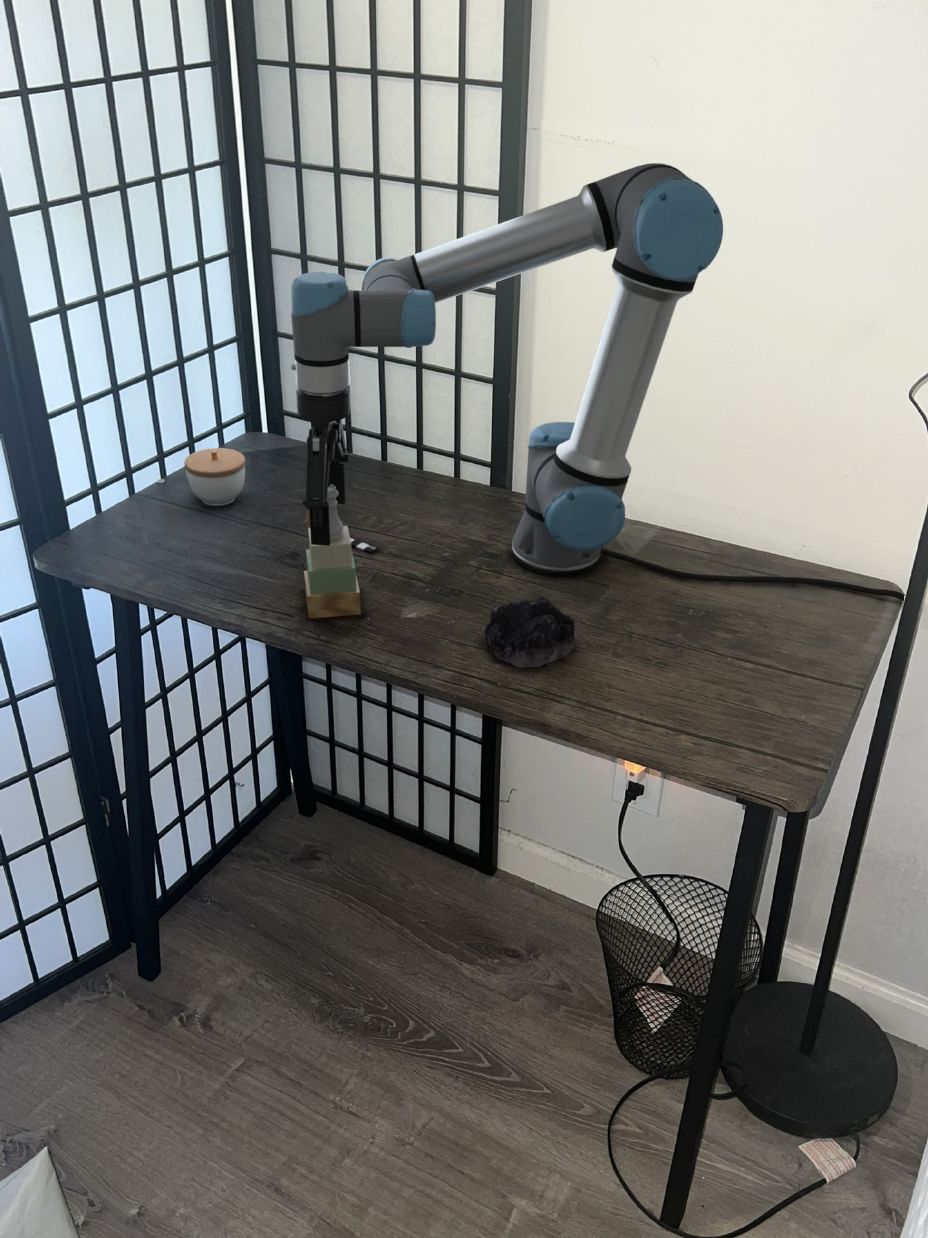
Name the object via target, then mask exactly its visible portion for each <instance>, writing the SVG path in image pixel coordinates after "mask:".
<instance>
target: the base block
mask: <svg viewBox="0 0 928 1238" xmlns="http://www.w3.org/2000/svg"><path fill="white" fill-rule="evenodd" d="M303 578H304V579H303V580H304V594H305V601H306V608H307V615H308V616H307V617H308V619H309V620H310V619H322V618H334V617H345V616H359V615H361V614H362V611H361V590H360V586H359V583H358V582H359V581H358V576H357V575H356V591H348V592H335V593H322V594H310V587H309V580H308V574H307V570H303Z"/></svg>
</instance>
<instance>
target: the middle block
mask: <svg viewBox="0 0 928 1238" xmlns="http://www.w3.org/2000/svg"><path fill="white" fill-rule="evenodd" d="M351 550H352V548H351ZM352 551H353V550H352ZM305 557H306V559H305V560H306V571H307V574H308V580H309V587H310V594H322V593H335V592H348V591H356V576H357V568H356V564H355V559H354V554H353V553H352V567H342V568H328V569H314V570H313V569H312V564H311V558H310V551H309V549H305Z"/></svg>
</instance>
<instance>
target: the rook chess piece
mask: <svg viewBox="0 0 928 1238" xmlns="http://www.w3.org/2000/svg"><path fill="white" fill-rule="evenodd" d="M338 494H339V493H338V491H337V490H336V486H334V485H332V484H331V485H330V487H328V493H327V503H329V520H330V542H331V541H336V540H339V539H340V538H341V537H342V536H343V534H344V531H343V528H344V527H343V526H344V525H343V522H342V521H341V519H340V518H339V514H338V508H337V505H338V504H337V503H338V502H337V501H336V497H337V496H338Z"/></svg>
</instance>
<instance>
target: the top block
mask: <svg viewBox="0 0 928 1238" xmlns="http://www.w3.org/2000/svg"><path fill="white" fill-rule="evenodd" d="M343 527H344V528H343V531H344V534H343V536H342V537H341V538H340V539H339V540H336V541H331V543H330V546H326V545H311V532H310V528H307V529H308V530H307V531H308V550H309V551H310V558H311V564H312V569H313V570H314V569H328V568H342V567H352V554H353V550H351V549H352V546H351V540H350V538H351V537H350V536H351V535H350V532H349V527H348V525H343Z"/></svg>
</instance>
